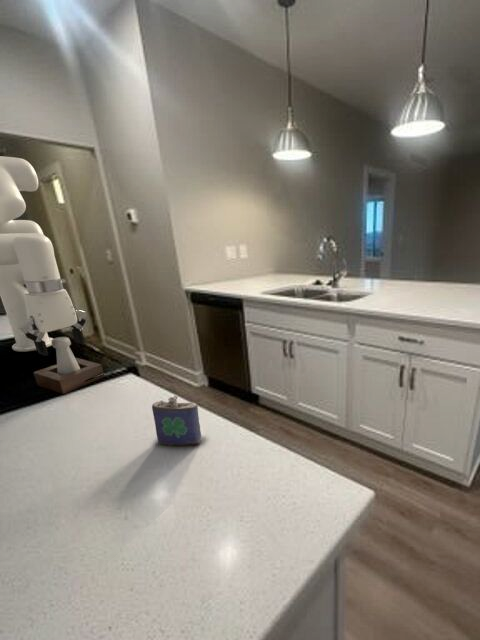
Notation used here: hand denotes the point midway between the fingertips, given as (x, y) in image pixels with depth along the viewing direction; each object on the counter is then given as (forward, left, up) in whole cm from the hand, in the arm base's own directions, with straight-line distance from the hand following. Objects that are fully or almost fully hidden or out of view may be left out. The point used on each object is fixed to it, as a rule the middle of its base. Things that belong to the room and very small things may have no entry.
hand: (62, 348), depth 95 cm
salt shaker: (0, 0, -10) cm, 10 cm away
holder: (0, 0, -10) cm, 10 cm away
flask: (+49, -8, -10) cm, 51 cm away
